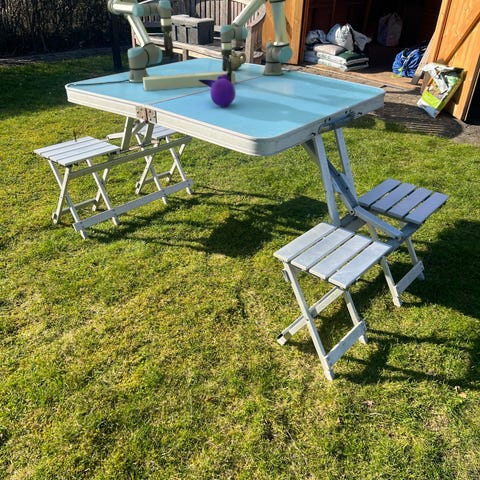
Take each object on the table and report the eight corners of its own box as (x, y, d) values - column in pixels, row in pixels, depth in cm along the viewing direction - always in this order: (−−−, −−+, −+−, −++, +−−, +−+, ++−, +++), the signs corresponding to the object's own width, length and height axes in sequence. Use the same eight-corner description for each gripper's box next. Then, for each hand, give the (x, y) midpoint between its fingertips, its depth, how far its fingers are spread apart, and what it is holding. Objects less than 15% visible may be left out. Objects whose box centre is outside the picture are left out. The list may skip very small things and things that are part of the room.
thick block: (145, 91, 309) (144, 79, 305) (143, 88, 317) (142, 77, 314) (235, 83, 325) (235, 72, 321) (231, 81, 333) (231, 70, 330)
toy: (221, 97, 287) (235, 112, 266) (195, 92, 280) (207, 107, 259) (227, 72, 279) (242, 85, 258) (201, 67, 272) (213, 80, 251)
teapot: (226, 72, 363) (226, 52, 355) (220, 70, 372) (219, 50, 364) (249, 69, 372) (249, 50, 365) (242, 67, 381) (241, 48, 373)
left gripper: (176, 26, 305) (178, 59, 316) (167, 23, 325) (170, 54, 336) (165, 27, 303) (168, 60, 314) (157, 24, 323) (160, 55, 334)
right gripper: (236, 51, 308) (236, 84, 319) (227, 47, 327) (228, 78, 338) (225, 51, 306) (226, 85, 317) (217, 47, 325) (218, 79, 336)
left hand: (169, 57), depth 325 cm, fingers open, 13 cm apart
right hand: (227, 81), depth 328 cm, fingers open, 10 cm apart
